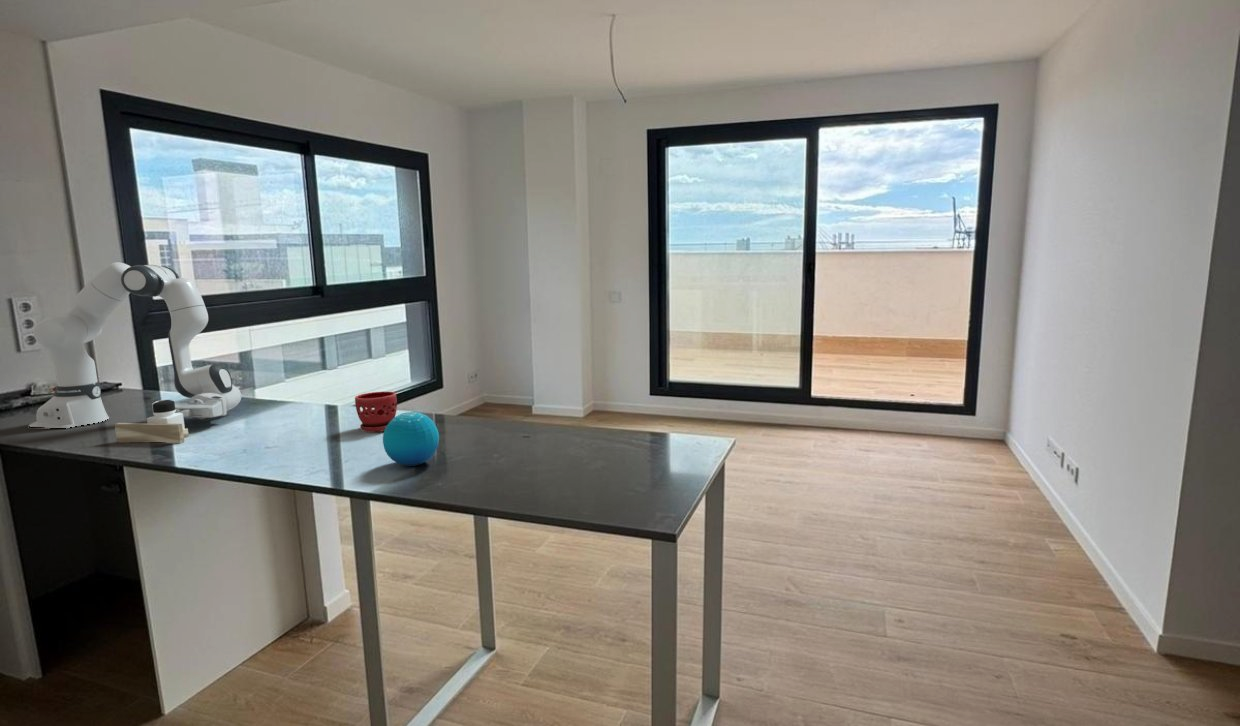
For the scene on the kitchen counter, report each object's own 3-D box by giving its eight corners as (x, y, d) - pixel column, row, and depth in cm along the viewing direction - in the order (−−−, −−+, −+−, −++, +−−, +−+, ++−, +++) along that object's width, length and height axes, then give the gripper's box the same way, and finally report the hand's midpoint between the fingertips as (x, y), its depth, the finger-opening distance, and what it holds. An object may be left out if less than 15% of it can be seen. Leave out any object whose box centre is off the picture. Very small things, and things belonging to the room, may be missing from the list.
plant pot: (405, 424, 223) (403, 390, 221) (385, 434, 210) (382, 399, 208) (371, 423, 225) (368, 389, 223) (349, 433, 212) (346, 398, 210)
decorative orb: (431, 453, 190) (428, 403, 187) (447, 466, 177) (444, 414, 175) (379, 462, 182) (375, 411, 179) (392, 477, 170) (387, 422, 167)
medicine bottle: (186, 433, 214) (181, 398, 212) (169, 439, 207) (164, 403, 205) (166, 433, 215) (161, 398, 213) (149, 439, 208) (143, 403, 206)
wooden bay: (138, 435, 213) (136, 417, 212) (199, 436, 211) (197, 418, 210) (117, 442, 205) (114, 424, 204) (180, 443, 203) (178, 425, 202)
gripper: (174, 397, 228) (142, 406, 214) (228, 397, 226) (199, 406, 212) (177, 414, 229) (145, 424, 215) (230, 414, 227) (202, 425, 213)
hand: (173, 415), depth 214 cm, fingers closed, pressing on medicine bottle
